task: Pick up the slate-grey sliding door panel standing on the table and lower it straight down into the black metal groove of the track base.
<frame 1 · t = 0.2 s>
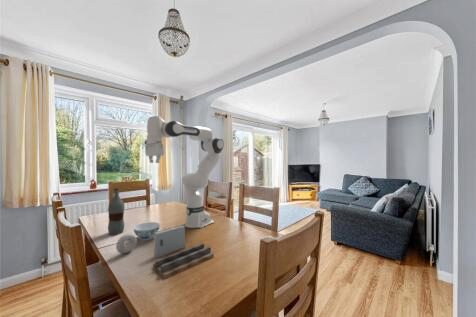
hand: (154, 162, 126), 47 cm above the table, tool pointing down, fingers open, 8 cm apart
bottle: (116, 233, 132), on the table
door panel: (170, 251, 106), on the table
chinaware: (146, 238, 123), on the table
track base: (184, 261, 95), on the table
donut: (126, 253, 104), on the table
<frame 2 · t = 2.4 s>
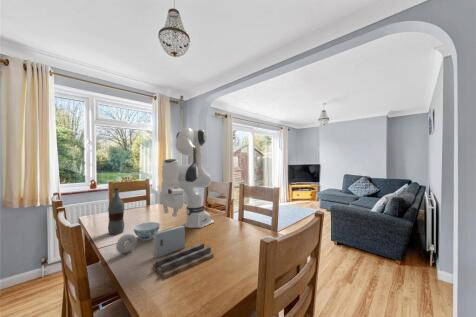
hand: (170, 214, 106), 20 cm above the table, tool pointing down, fingers open, 8 cm apart
nothing on the table moved.
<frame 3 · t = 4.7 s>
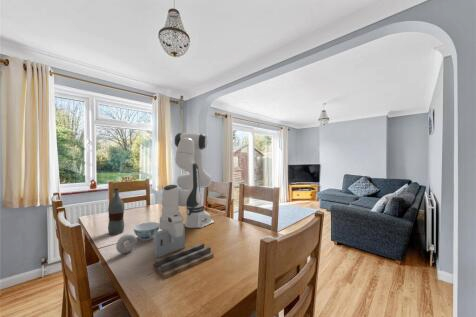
hand: (170, 241, 106), 6 cm above the table, tool pointing down, fingers closed on door panel, 2 cm apart
door panel: (170, 251, 106), on the table, touching gripper
everything else where it was.
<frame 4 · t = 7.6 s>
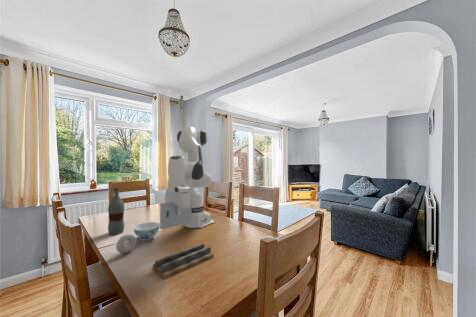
hand: (176, 214, 100), 22 cm above the table, tool pointing down, fingers closed on door panel, 2 cm apart
door panel: (176, 225, 100), point 16 cm above the table, touching gripper
everything else where it was.
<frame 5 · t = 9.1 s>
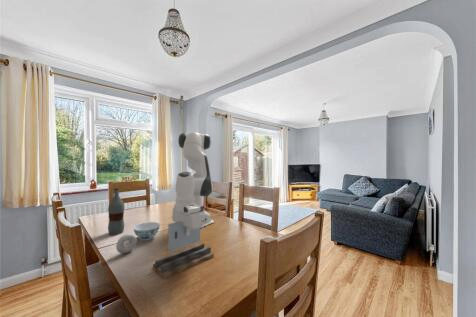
hand: (185, 234, 95), 14 cm above the table, tool pointing down, fingers closed on door panel, 2 cm apart
door panel: (184, 245, 95), point 8 cm above the table, touching gripper
everything else where it was.
when the fingers open (9 cm above the table, at t = 10.3 s): door panel drops 1 cm, resting on track base.
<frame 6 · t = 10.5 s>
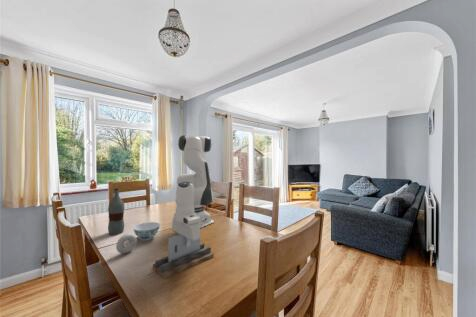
hand: (184, 244, 95), 9 cm above the table, tool pointing down, fingers open, 4 cm apart
door panel: (184, 258, 95), point 1 cm above the table, touching track base
everything else where it was.
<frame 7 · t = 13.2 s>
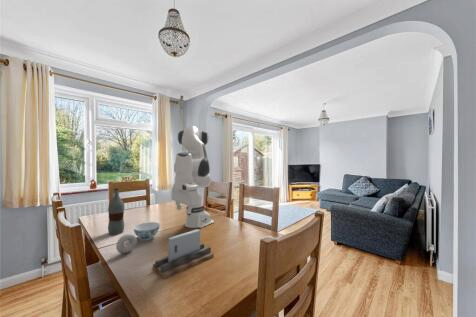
hand: (183, 211, 100), 23 cm above the table, tool pointing down, fingers open, 8 cm apart
nothing on the table moved.
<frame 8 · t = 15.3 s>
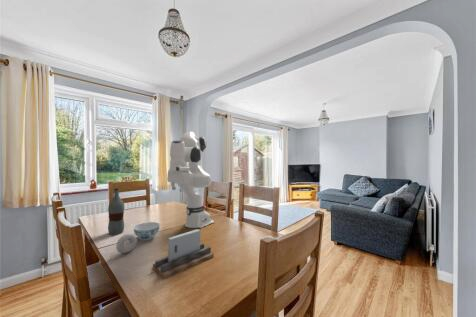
hand: (177, 190, 116), 31 cm above the table, tool pointing down, fingers open, 8 cm apart
nothing on the table moved.
at the end: door panel inside the target area on the track base (0.1 cm from its centre), point 1.5 cm above the track base's base; door panel tilted 0°; the gripper is holding nothing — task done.
